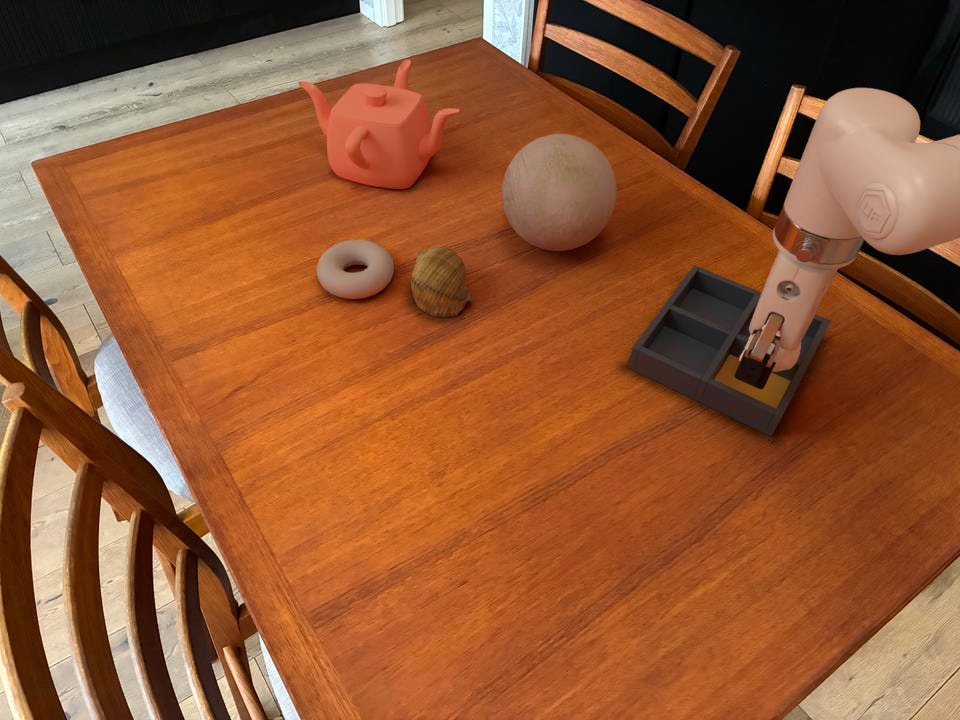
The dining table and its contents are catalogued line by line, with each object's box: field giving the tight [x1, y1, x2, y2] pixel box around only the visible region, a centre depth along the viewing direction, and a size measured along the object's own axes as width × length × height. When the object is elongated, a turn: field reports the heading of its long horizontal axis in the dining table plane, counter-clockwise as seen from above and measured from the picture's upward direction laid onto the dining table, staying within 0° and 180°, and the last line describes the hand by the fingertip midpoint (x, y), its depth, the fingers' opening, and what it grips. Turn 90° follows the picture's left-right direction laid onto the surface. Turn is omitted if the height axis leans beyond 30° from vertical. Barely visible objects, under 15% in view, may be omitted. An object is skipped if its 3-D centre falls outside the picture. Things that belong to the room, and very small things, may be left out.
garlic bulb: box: [739, 325, 801, 372], centre depth 78 cm, size 6×6×5 cm
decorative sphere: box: [501, 133, 618, 252], centre depth 96 cm, size 15×15×15 cm
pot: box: [297, 59, 460, 190], centre depth 108 cm, size 18×17×12 cm
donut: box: [316, 238, 395, 300], centre depth 94 cm, size 10×4×10 cm
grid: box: [627, 264, 832, 437], centre depth 86 cm, size 17×17×4 cm
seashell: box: [410, 246, 473, 319], centre depth 92 cm, size 10×7×8 cm
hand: (761, 360), depth 79 cm, fingers closed on garlic bulb, 6 cm apart
